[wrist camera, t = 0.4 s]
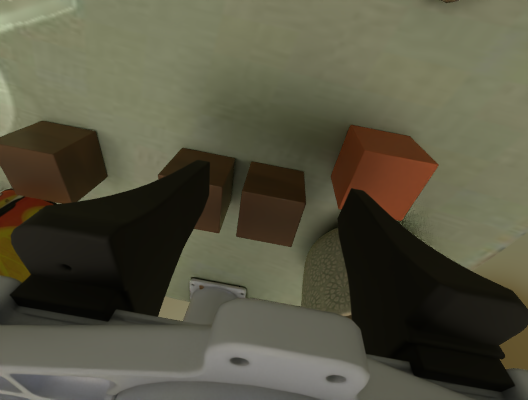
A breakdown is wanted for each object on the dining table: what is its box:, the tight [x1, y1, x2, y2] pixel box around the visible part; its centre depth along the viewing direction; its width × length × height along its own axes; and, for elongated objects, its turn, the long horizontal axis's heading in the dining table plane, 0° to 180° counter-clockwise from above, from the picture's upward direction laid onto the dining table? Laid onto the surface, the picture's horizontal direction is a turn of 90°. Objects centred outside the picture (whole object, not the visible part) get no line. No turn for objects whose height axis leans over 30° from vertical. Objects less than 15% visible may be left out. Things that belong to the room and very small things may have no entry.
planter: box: [301, 228, 352, 320], centre depth 24 cm, size 12×12×11 cm
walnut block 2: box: [158, 148, 235, 233], centre depth 22 cm, size 5×5×5 cm
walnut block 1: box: [0, 121, 107, 204], centre depth 22 cm, size 5×5×5 cm
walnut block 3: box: [236, 162, 306, 247], centre depth 22 cm, size 5×5×5 cm
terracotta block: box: [331, 125, 438, 221], centre depth 19 cm, size 5×5×5 cm
